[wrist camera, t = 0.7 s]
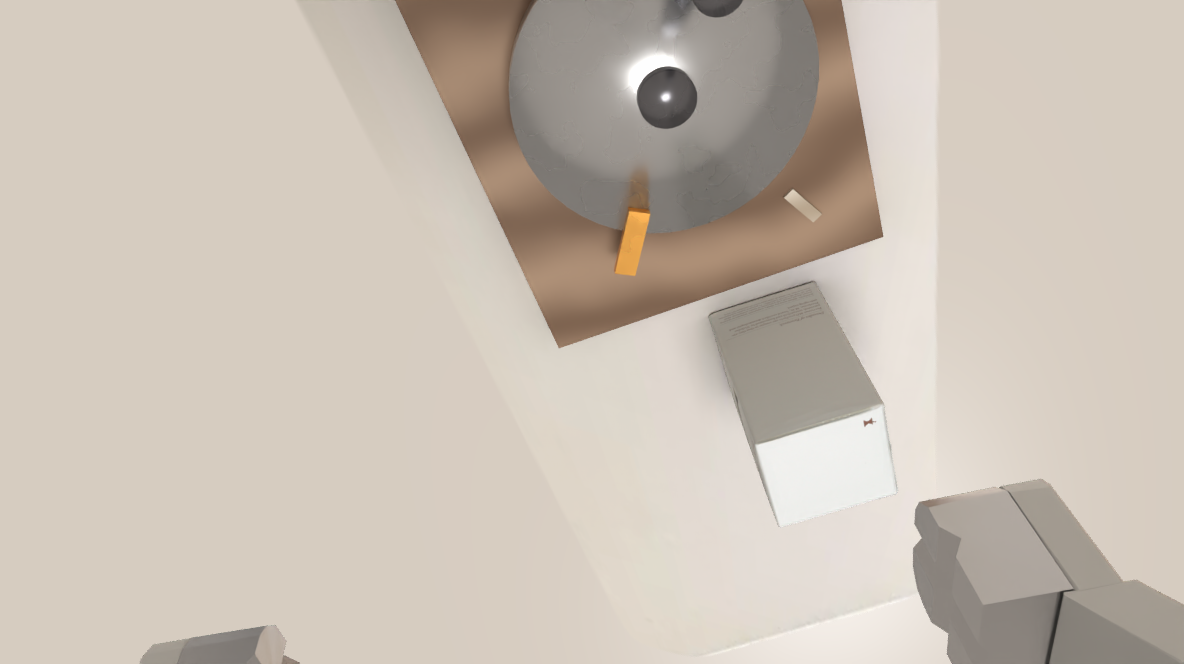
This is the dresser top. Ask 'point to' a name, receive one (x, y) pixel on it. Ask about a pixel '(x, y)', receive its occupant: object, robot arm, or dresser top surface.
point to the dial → (660, 106)
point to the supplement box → (805, 405)
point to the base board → (668, 260)
